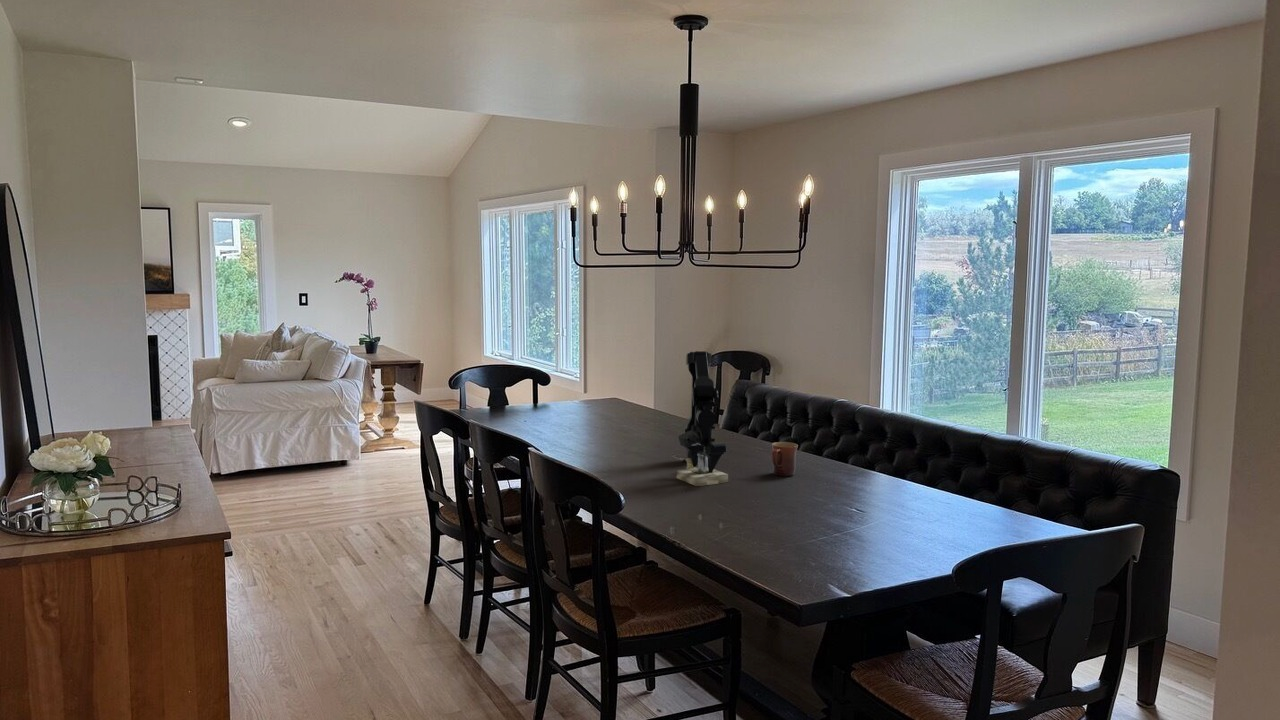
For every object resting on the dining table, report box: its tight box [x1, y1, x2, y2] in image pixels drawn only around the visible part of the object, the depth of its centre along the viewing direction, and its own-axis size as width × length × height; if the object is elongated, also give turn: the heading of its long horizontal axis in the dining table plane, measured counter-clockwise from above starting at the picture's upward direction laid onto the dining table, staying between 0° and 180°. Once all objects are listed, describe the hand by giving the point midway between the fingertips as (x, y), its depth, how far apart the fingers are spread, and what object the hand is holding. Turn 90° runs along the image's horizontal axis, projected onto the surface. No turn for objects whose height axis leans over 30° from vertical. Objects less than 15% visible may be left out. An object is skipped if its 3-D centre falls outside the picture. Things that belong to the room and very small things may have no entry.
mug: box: [771, 441, 799, 477], centre depth 293 cm, size 12×9×10 cm
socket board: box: [676, 467, 729, 487], centre depth 285 cm, size 12×12×3 cm
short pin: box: [685, 457, 697, 469], centre depth 296 cm, size 4×4×5 cm
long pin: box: [697, 451, 708, 474], centre depth 285 cm, size 4×4×9 cm
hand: (702, 469), depth 285 cm, fingers open, 9 cm apart
